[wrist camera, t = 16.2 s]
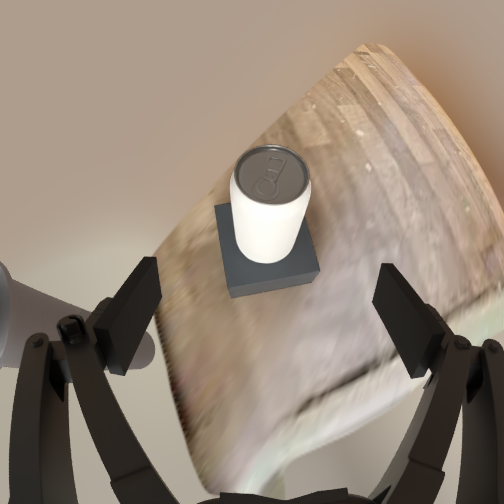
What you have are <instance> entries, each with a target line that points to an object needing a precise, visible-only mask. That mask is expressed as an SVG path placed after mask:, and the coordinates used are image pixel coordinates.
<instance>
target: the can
mask: <svg viewBox="0 0 504 504" xmlns="http://www.w3.org/2000/svg"><path fill="white" fill-rule="evenodd" d="M310 195H311V182H310V175H309V169H308V167H307V164H306V163H305V161H304V160H303V159H302V157H301V156H300V155H298V154H297V153H296V152H294V151H293V150H291V149H289V148H287V147H284V146H280V145H273V144H267V145H260V146H256V147H253V148H251V149H249V150H248V151H246V152H245V153H243V154H242V155H241V156H240V158H239V159H238V160H237V162H236V164H235V168H234V171H233V173H232V176H231V179H230V197H231V205H232V214H233V221H234V229H235V236H236V241H237V245H238V247H239V249H240V251H241V252H242V253H243V254H244V255H245V256H246V257H247V258H248V259H250V260H252V261H255V262H258V263H274V262H277V261H279V260H281V259H283V258H284V257H286V256H287V255H288V254H289V252H290V251H291V249H292V248H293V245H294V243H295V240H296V237H297V235H298V232H299V229H300V226H301V223H302V220H303V217H304V214H305V211H306V208H307V205H308V202H309V199H310Z"/></svg>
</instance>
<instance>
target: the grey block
mask: <svg viewBox="0 0 504 504" xmlns="http://www.w3.org/2000/svg"><path fill="white" fill-rule="evenodd" d="M214 208H215V214H216V221H217V227H218V233H219V240H220V246H221V252H222V258H223V264H224V270H225V275H226V281H227V287H228V290H229V293H230V296H231V298H235V297H241V296H246V295H252V294H257V293H262V292H267V291H272V290H278V289H283V288H288V287H292V286H297V285H302V284H307V283H311V282H312V281H313V280H314V278H315V277H316V276H317V274H318V273H319V272H320V268H319V265H318V261H317V257H316V254H315V250H314V246H313V243H312V239H311V236H310V232H309V229H308V226H307V222H306V219H305V215H304V217H303V220H302V223H301V226H300V229H299V232H298V235H297V237H296V240H295V243H294V245H293V248H292V249H291V251H290V252H289V254H288V255H287V256H286V257H284V258H283V259H281V260H279V261H277V262H274V263H258V262H255V261H252V260H250V259H248V258H247V257H246V256H245V255H244V254H243V253H242V252H241V251H240V249H239V247H238V245H237V241H236V236H235V229H234V221H233V214H232V205H231V203H226V204H221V205H215V206H214Z"/></svg>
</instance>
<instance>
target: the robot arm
mask: <svg viewBox="0 0 504 504" xmlns="http://www.w3.org/2000/svg"><path fill="white" fill-rule="evenodd" d="M161 298H162V294H161V288H160V281H159V274H158V267H157V259H156V257H143V259H142V260H141V261H140V263H139V264H138V265H137V266H136V268H135V269H134V270H133V272H132V273H131V274H130V276H129V277H128V278H127V280H126V281H125V282H124V284H123V285H122V286H121V288H120V289H119V290H118V292H117V293H116V294H115V296H114V297H113V298H110V297H107V298H105V299H104V300H102V301H101V302H100V303H99V304H98V305H97V307H96V308H95V310H94V311H93V312H92V314H91V315H90V316H89V317H88V319H87V320H86V322H85V323H84V320H83V318H82V317H81V316H79V315H75V314H72V315H67V316H65V317H63V318H62V319H60V320H59V321H58V323H57V324H56V329H57V331H58V334H59V336H60V338H61V340H60V341H50V339H49V337H48V335H47V334H45V333H35V334H33V335H31V336H30V337H29V338H28V339H27V340H26V342H25V346H24V350H23V354H22V359H21V363H20V368H19V373H18V378H17V384H16V390H15V396H14V403H13V411H12V421H11V431H10V447H9V489H10V498H9V502H8V504H78V500H77V494H76V488H75V482H74V475H73V467H72V459H71V448H70V437H69V411H68V384H69V383H73V385H74V388H75V392H76V395H77V398H78V401H79V404H80V407H81V410H82V413H83V416H84V418H85V421H86V424H87V426H88V429H89V432H90V434H91V436H92V439H93V441H94V444H95V446H96V448H97V451H98V453H99V455H100V457H101V460H102V462H103V464H104V466H105V468H106V470H107V472H108V474H109V476H110V479H111V482H110V484H111V487H112V489H113V491H114V493H115V495H116V497H117V498H118V500H119V502H120V504H180V503H179V502H178V501H177V499H176V498H175V497H174V495H173V494H172V493H171V491H170V490H169V488H168V487H167V486H166V484H165V483H164V481H163V480H162V478H161V477H160V475H159V474H158V472H157V471H156V469H155V468H154V466H153V465H152V463H151V462H150V460H149V458H148V457H147V455H146V453H145V452H144V450H143V448H142V447H141V445H140V443H139V442H138V440H137V438H136V436H135V435H134V433H133V431H132V429H131V427H130V425H129V424H128V422H127V420H126V418H125V416H124V414H123V412H122V410H121V408H120V406H119V404H118V402H117V400H116V398H115V396H114V394H113V392H112V389H111V387H110V385H109V383H108V380H107V378H106V376H105V373H104V369H105V367H106V365H107V367H108V369H109V372H110V373H111V374H117V375H122V376H125V374H126V372H127V370H128V368H129V365H130V363H131V361H132V359H133V357H134V354H135V352H136V350H137V348H138V346H139V344H140V342H141V339H142V337H143V335H144V333H145V331H146V329H147V327H148V325H149V323H150V321H151V319H152V316H153V314H154V312H155V310H156V308H157V306H158V304H159V302H160V300H161ZM372 303H373V305H374V307H375V309H376V310H377V312H378V314H379V316H380V318H381V320H382V322H383V323H384V325H385V327H386V329H387V331H388V333H389V335H390V337H391V339H392V341H393V343H394V345H395V347H396V349H397V351H398V353H399V355H400V357H401V359H402V361H403V363H404V365H405V367H406V369H407V371H408V373H409V375H410V377H411V379H413V378H419V377H424V375H425V374H426V372H427V370H428V368H429V369H430V371H431V372H432V374H431V375H430V377H429V379H428V381H427V383H426V384H425V386H424V387H423V388H424V389H425V390H424V393H423V395H422V398H421V400H420V403H419V405H418V408H417V410H416V412H415V415H414V417H413V419H412V422H411V424H410V426H409V428H408V430H407V433H406V434H405V437H404V439H403V440H402V442H401V444H400V446H399V449H398V450H397V452H396V454H395V456H394V458H393V460H392V462H391V463H390V465H389V467H388V469H387V471H386V472H385V474H384V476H383V477H382V479H381V481H380V482H379V484H378V485H377V487H376V488H375V489H374V491H373V492H372V493H371V494H370V495H369V497H368V498H366V497H363V496H360V495H355V494H348V490H347V488H341V489H333V490H325V491H317V492H314V493H311V494H308V495H304V496H301V497H297V498H294V499H290V500H279V499H273V498H268V497H264V496H259V495H255V494H240V493H224V492H220V498H215V499H210V500H206V501H203V502H200V503H197V504H433V503H434V501H435V499H436V497H437V494H438V492H439V489H440V487H441V485H442V482H443V480H444V476H445V472H443V471H442V467H443V464H444V461H445V458H446V456H447V453H448V450H449V447H450V444H451V441H452V438H453V434H454V431H455V427H456V424H457V420H458V417H459V413H460V409H461V405H462V412H463V429H462V431H463V432H462V454H461V467H460V477H459V485H458V492H457V499H456V504H504V350H503V347H502V346H501V344H500V343H499V342H497V341H496V340H493V339H487V340H485V341H484V343H483V345H482V346H481V347H478V346H472V345H471V343H470V341H469V340H468V339H466V338H465V337H463V336H460V335H454V333H453V332H452V331H451V329H450V328H449V326H448V325H447V324H446V322H445V321H443V318H442V317H441V316H440V314H439V313H438V312H437V311H436V309H435V308H433V307H432V306H431V305H429V304H425V303H424V302H423V301H422V299H421V298H420V297H419V296H418V294H417V293H416V292H415V290H414V289H413V288H412V287H411V285H410V284H409V283H408V282H407V280H406V279H405V278H404V277H403V275H402V274H401V273H400V272H399V271H398V269H397V268H396V267H395V266H394V265H393V263H382V264H381V268H380V272H379V277H378V281H377V285H376V289H375V293H374V297H373V300H372Z"/></svg>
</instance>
